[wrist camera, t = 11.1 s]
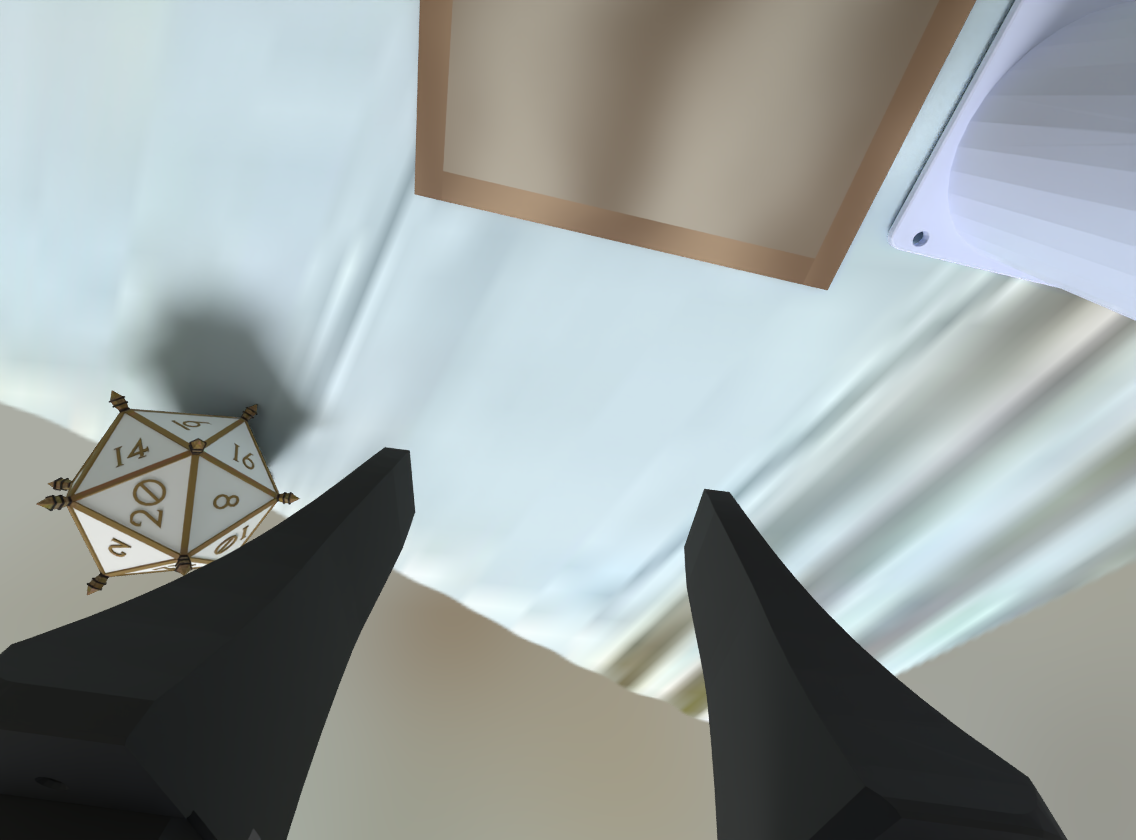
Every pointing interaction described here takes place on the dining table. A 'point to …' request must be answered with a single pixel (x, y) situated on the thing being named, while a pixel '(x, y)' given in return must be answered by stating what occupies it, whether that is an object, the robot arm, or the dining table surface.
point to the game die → (168, 491)
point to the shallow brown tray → (678, 118)
